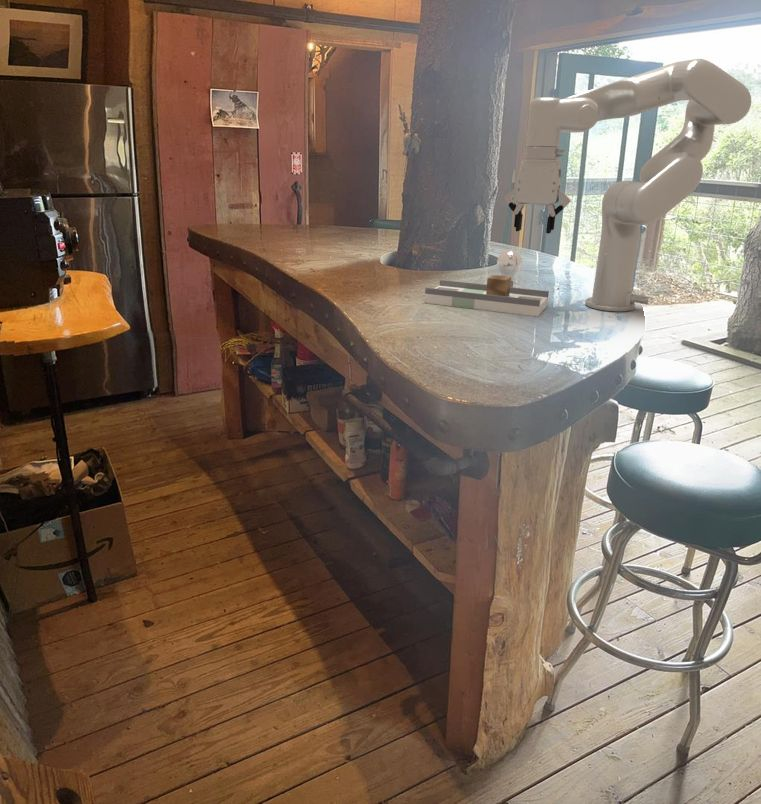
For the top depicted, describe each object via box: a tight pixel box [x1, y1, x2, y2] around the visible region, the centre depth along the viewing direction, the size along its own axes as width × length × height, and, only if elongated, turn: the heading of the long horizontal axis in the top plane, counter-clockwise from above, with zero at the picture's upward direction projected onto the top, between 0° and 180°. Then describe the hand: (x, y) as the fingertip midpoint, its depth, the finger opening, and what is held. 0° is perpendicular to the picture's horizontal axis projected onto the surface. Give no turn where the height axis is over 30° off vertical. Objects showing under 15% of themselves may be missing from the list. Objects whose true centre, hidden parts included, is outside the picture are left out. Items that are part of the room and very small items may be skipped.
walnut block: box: [486, 274, 511, 297], centre depth 169 cm, size 5×5×5 cm
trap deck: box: [424, 279, 550, 317], centre depth 171 cm, size 30×12×4 cm, turn 66°
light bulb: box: [496, 248, 523, 288], centre depth 186 cm, size 7×7×12 cm
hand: (533, 231), depth 161 cm, fingers open, 6 cm apart
